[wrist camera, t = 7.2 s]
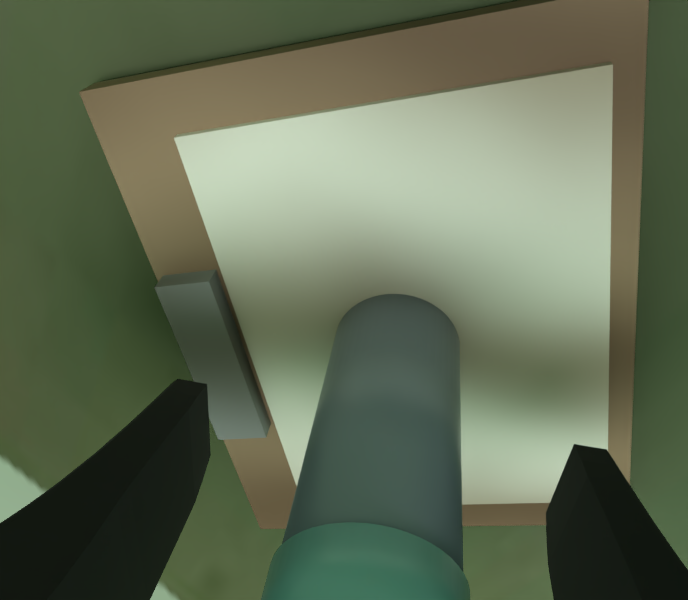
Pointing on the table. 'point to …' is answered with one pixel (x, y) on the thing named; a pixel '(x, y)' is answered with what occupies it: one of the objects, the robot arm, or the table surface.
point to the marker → (381, 465)
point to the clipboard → (403, 228)
